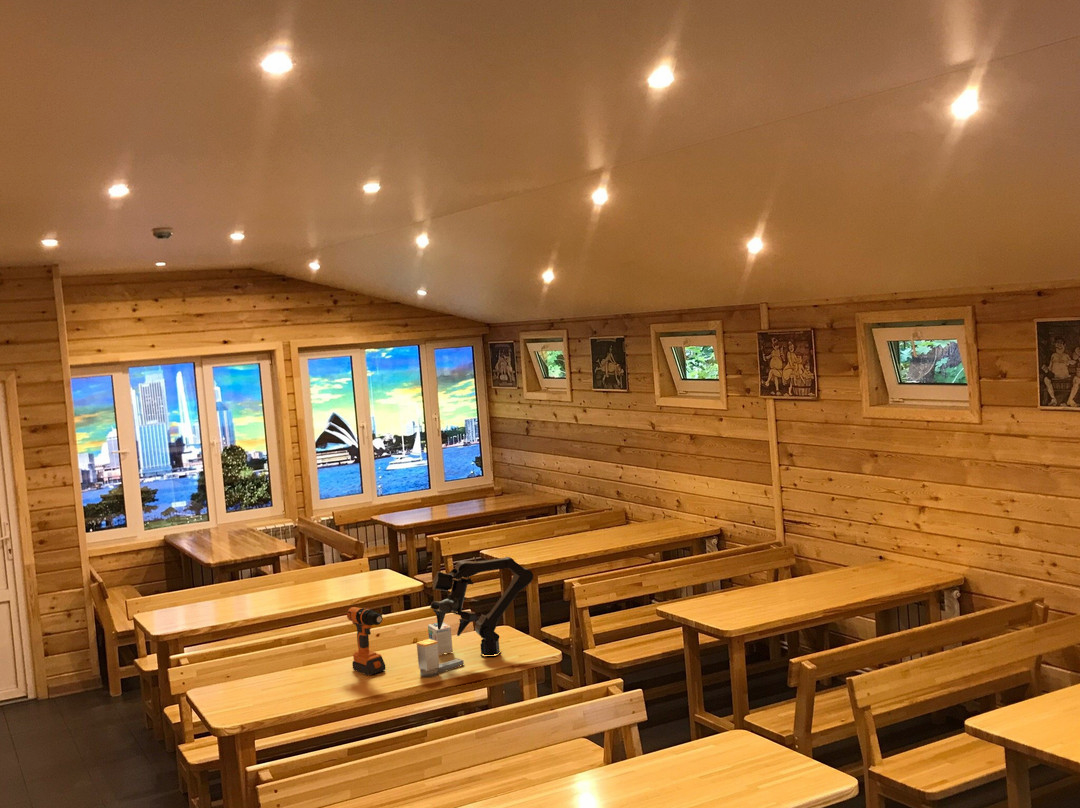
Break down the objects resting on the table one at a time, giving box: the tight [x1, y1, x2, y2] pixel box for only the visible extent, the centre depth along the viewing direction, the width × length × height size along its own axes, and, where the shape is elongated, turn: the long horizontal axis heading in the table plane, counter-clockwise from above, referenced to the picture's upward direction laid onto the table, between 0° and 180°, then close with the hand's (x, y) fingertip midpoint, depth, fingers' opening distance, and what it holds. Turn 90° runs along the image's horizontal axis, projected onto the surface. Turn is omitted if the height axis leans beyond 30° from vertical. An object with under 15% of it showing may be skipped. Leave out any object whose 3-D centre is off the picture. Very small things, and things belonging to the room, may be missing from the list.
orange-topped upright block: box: [416, 638, 440, 671], centre depth 388 cm, size 6×6×10 cm
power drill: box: [346, 606, 386, 676], centre depth 397 cm, size 22×7×25 cm, turn 41°
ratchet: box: [419, 658, 465, 678], centre depth 391 cm, size 18×7×5 cm, turn 130°
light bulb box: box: [427, 622, 454, 656], centre depth 417 cm, size 11×7×11 cm, turn 25°
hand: (448, 632), depth 401 cm, fingers open, 9 cm apart
